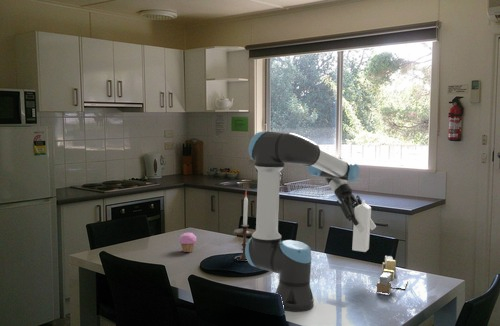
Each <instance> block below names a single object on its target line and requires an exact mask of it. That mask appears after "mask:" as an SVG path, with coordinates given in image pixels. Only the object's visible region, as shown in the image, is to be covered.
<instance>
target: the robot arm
mask: <svg viewBox="0 0 500 326" xmlns="http://www.w3.org/2000/svg"><path fill="white" fill-rule="evenodd" d="M248 155H249V158H250V159H251V160H252V161H253V162H254V167H255V169H256V170H257V188H256V189H257V190H256V191H257V192H256V193H257V194H256V216H255V217H256V218H255V219H256V221H255V224H256V225H255V232H254V233H253V234H252V235H251V237H250V238H249V239H248V240H247V241H246V244H247V245H246V247H245V255H246V259H247V261H248V262H247V263H248V264H249V265H250V266H252V267H255V268H256V269H259V270H263V271H268V272H271V273H276V274H279V275H278V285H277V288H276V290H275V293H278V294H280V295H281V297H282V301H283V305H284V309H283V310H285V311H289V312H304V311H308V310H311V309H313V307H314V304H315V303H314V302H315V299H314V295H313V291H312V288H311V285H310V284H311V267H312V249H311V247H310V246H309V245H308V244H306V243H305V242H302V241H299V240H292V239H285V240H282V234H280V233H279V209H280V208H279V207H280V205H279V203H280V183H281V179H280V178H281V171H282V170H283V169H284V168H285V165H286V164H289V165H301V166H304V167H307V168H306V169H307V170H306V171H307V172H308V174H310V175H311V176H313V177H318V178H321V179H324V180H325V181H326V183H328V185H329V187H330V188H331V190H332V192H334V193H333V194H334V195H335V196H336V198H337V200H336V202H337V204H338V205H339V207H340V209H341V211H342V212H343V215H344V216H345V218H346V219H347V220H348V221H349V222H352V223H353V226H354V225H355V226H356V227H357V229H358V230H359V232H360V233H361V232H362V231H363V230H364V229H365V228H364V227H363V225H362V224H361V222H360V221H359V219H358V218H357V217H355V215H354V211H355V210H354V209H355V207H357V206H358V205H361V204H362V201H363V200H362V199H361V198H360V195H354V194H353V193H352V192H353V189H352V187H351V185H350V184H349V183H348V182H347V181H352V182H354V181H356V180H357V179H358V178H359V176H360V166H359V164H357V163H354V162H347V161H345V160H343V159H341V158H339V157H337V156H335V155H333V154H331V153H329V152H327V151H325V150H323V149H322V148H320V146H319V144H317V143H316V142H314V141H312V140H310V139H309V138H306V137H304V136H301V135H299V134H297V133H293V132H282V131H270V130H269V131H268V130H267V131H259V132H256V133H255V134H254V135H253V136H252V137H251V139H250V141H249V144H248ZM353 208H354V209H353ZM376 228H377V225H376V224H375V222H374V221H373V219H372V218H371V220H370V231H373V230H375V229H376Z"/></svg>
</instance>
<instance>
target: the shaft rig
mask: <svg viewBox="0 0 500 326" xmlns="http://www.w3.org/2000/svg"><path fill="white" fill-rule="evenodd" d="M396 265H397V261H396V259H394V258H393V256H392V255H385V256H384V261H383V262H382V267H381V268H382V269H381V271H382V270H383V273H381V275H380V276H379V277H380V281H379V282H378V283H377V282H376V283H377V286H376V293H377V292H382V293H388V294H389V293H390V292H391V291H392V288H391V283H389V282H390V281H393V280H394V278H395V271H396V267H397V266H396ZM391 293H392V292H391Z"/></svg>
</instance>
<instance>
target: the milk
mask: <svg viewBox="0 0 500 326" xmlns="http://www.w3.org/2000/svg"><path fill="white" fill-rule="evenodd" d="M361 201H362V204H361V205H358V206H357V207H355V208H354V210H353V211H354V215H355V217H357V218H358V219H359V221H360V222H361V224H362V225H363V227H364V228H365V229H364V230H363V231H362V232H361V233H360V232H359V230H358V229H357V227H356V226H355V225H354V224H353V230H352V247H351V248H352V249H351V250H352V251H355V252H363V253H367V251H368V250H369V249H370V232H371V229H370V220H371V219H372V218H371V217H372V207H371V205H369V204H367V203H366V199H363V200H361Z"/></svg>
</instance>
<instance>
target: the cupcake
mask: <svg viewBox="0 0 500 326" xmlns="http://www.w3.org/2000/svg"><path fill="white" fill-rule="evenodd" d="M178 242H179V243H180V245H181V250H182V251H183V253H186V252H187V253H191V252H193V250H194V247H195V245H194V244H195V243H196V242H197V236H196V235H195V234H194V233H193V232H184V233H182V234H180V236H179V237H178Z"/></svg>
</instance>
